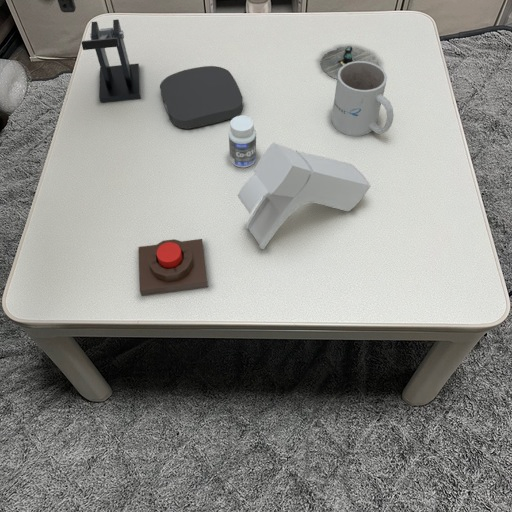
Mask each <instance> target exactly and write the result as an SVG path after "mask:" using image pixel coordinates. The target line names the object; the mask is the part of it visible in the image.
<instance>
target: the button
mask: <svg viewBox="0 0 512 512" xmlns="http://www.w3.org/2000/svg"><path fill="white" fill-rule="evenodd" d="M157 258H158V261H159V263H160V265H161V266H162V267H164V268H174V267H176V266H178V265H179V264H180V263H181V261H182V253H181V249H180V247H179V246H178V245H177V244H175V243H172V242H168V243H164V244H162V245H161V246H160V247H159V248H158V250H157Z"/></svg>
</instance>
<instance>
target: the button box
mask: <svg viewBox="0 0 512 512" xmlns="http://www.w3.org/2000/svg"><path fill="white" fill-rule="evenodd" d="M168 242H172V243H175V244H177V245H178V246H179V247H180V249H181V253H182V261H181V263H180V264H179V265H178V266H176V267H174V268H164V267H162V266H161V265H160V263H159V261H158V258H157V250H158V248H159V247H160V246H161V245H162V244H164V243H168ZM207 275H208V274H207V267H206V257H205V250H204V242H203V238H197V239H189V240H179V239H175V238H174V239H167V240H165V239H164V240H162V241H160V242H159V243H157V244H152V245H151V244H150V245H144V246H138V279H139V280H138V281H139V284H138V285H139V293H140V295H141V296H142V297H145V296H153V295H158V294H166V293H174V292H181V291H189V290H195V289H204V288H208V287H209V285H208V284H209V283H208V276H207Z"/></svg>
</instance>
